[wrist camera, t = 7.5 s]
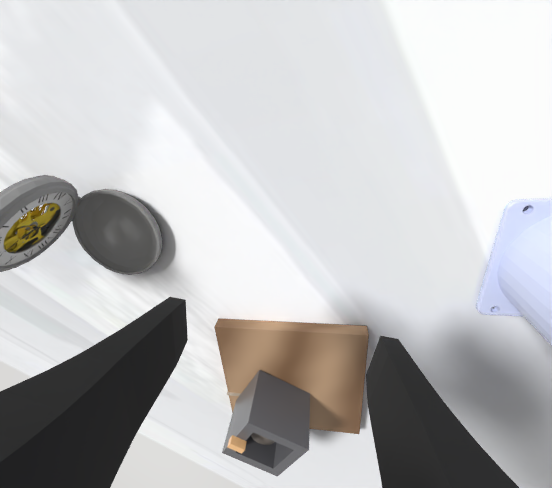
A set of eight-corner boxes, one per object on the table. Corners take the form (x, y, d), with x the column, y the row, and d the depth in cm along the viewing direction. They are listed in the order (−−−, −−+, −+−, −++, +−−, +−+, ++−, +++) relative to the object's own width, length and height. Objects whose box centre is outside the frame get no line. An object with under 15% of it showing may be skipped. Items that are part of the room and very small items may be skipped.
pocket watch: (171, 272, 23) (72, 381, 14) (75, 261, 24) (-75, 356, 15) (155, 167, 19) (5, 224, 10) (42, 159, 20) (-185, 205, 11)
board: (366, 325, 22) (376, 375, 18) (358, 423, 27) (364, 478, 23) (217, 318, 24) (196, 361, 20) (235, 410, 29) (222, 459, 25)
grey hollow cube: (310, 393, 25) (308, 458, 20) (283, 421, 27) (276, 485, 23) (256, 368, 24) (242, 429, 20) (233, 398, 27) (216, 459, 22)
